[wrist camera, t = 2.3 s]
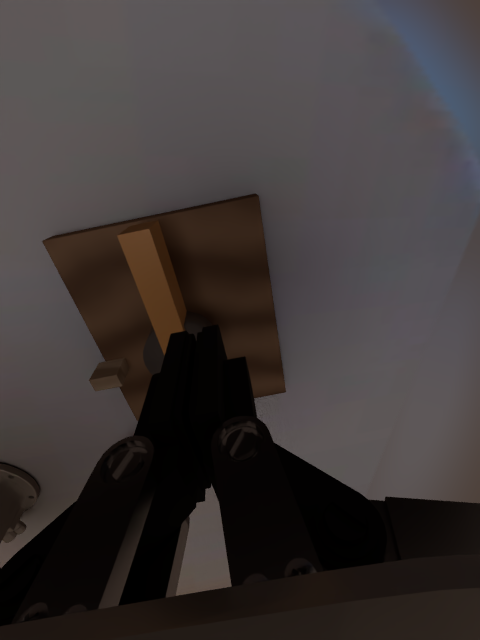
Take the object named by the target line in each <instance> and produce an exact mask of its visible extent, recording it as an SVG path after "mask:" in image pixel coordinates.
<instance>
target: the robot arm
mask: <svg viewBox="0 0 480 640" xmlns="http://www.w3.org/2000/svg"><path fill="white" fill-rule="evenodd" d="M211 483H212V486H213V488H214V491H215V493H216V496H217V498H218V501H219V505H220V512H221V519H222V525H223V532H224V539H225V545H226V552H227V559H228V565H229V572H230V579H231V585H232V587H227V588H221V589H215V590H208V591H202V592H197V593H191V594H185V595H179V596H175V595H176V590H177V585H178V580H179V575H180V570H181V565H182V560H183V556H184V551H185V546H186V541H187V536H188V531H189V522H190V518H189V515H190V514H191V512H192V511H193V510H194V509H195V508H196V503H197V502H203V501H205V489H206V488H210V487H211ZM39 492H40V490H39V486H38V485H37V483H36V481H35V480H34V479H33V478H32V477H31V476H29V475H28V474H27V473H25V472H23V471H21V470H20V469H17V468H15V467H12V466H9V465H5V464H1V463H0V543H1V541H2V540H3V541H4V542H6V543H8V542H10V541H12V540H13V539H14V538H15V537H16V536H17V534H22V533H23V532H24V531H25V530H26V527H27V526H26V525H25V524H24V523H23V522H22V521H20V518H21V516H22V514H23V512H24V511H25V510H27V509H29V508H30V507H32V506H33V505H34V504H35V502H36V500H37V498H38V496H39ZM0 640H480V503H467V502H453V501H438V500H425V499H411V498H397V497H385V501H379V500H368V499H366V498H365V497H364V496H363V495H361V494H360V493H359V492H357V491H355V490H353V489H352V488H350V487H348V486H347V485H345V484H343V483H342V482H340V481H338V480H336V479H335V478H333V477H331V476H330V475H328V474H326V473H325V472H323V471H321V470H320V469H318V468H316V467H314V466H313V465H311V464H309V463H308V462H306V461H304V460H303V459H301V458H299V457H297V456H296V455H294V454H292V453H291V452H289V451H287V450H286V449H284V448H282V447H280V446H279V445H277V444H275V443H274V442H273V439H272V437H271V434H270V432H269V430H268V428H267V426H266V425H265V424H264V423H263V422H262V421H261V420H259V419H258V418H257V415H256V408H255V402H254V396H253V390H252V384H251V379H250V374H249V370H248V365H247V361H246V357H245V356H244V357H238V358H233V359H227V355H226V351H225V348H224V344H223V340H222V336H221V332H220V328H219V325H218V324H217V325H212V326H207V327H203V328H202V332H198V333H197V340H196V339H195V336H194V334H193V333H192V334H189V333H188V332H187V331H182V332H177V333H172V334H171V335H170V338H169V341H168V345H167V349H166V353H165V356H164V360H163V364H162V367H161V371H160V373H156V374H154V375H153V376H152V378H151V381H150V384H149V387H148V391H147V394H146V397H145V401H144V404H143V407H142V411H141V414H140V417H139V420H138V424H137V427H136V430H135V434H134V436H131V437H127V438H124V439H122V440H120V441H118V442H117V443H115V444H114V445H112V446H111V447H110V448H109V449H108V450H107V451H106V452H105V453H104V454H103V455H102V456H101V458H100V459H99V461H98V462H97V464H96V466H95V468H94V470H93V472H92V473H91V475H90V477H89V479H88V481H87V483H86V485H85V486H84V488H83V490H82V492H81V494H80V496H79V498H78V499H77V501H76V502H74V503H73V504H72V505H71V506H70V507H69V508H68V509H66V510H65V511H64V512H63V513H62V514H61V515H59V516H58V517H57V518H56V519H55V520H54V521H53V522H51V523H50V524H49V525H48V526H47V527H46V528H45V529H43V530H42V531H41V532H40V533H39V534H38V535H37V536H35V537H34V538H33V539H32V540H31V541H30V542H29V543H27V544H26V545H25V546H24V547H23V548H22V549H21V550H19V551H18V552H17V553H16V554H15V555H14V556H13V557H12V558H11V559H10V560H9V561H8V562H7V563H6V564H5V565H4V566H3V567H2V568H0Z"/></svg>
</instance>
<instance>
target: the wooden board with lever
mask: <svg viewBox="0 0 480 640" xmlns="http://www.w3.org/2000/svg"><path fill="white" fill-rule="evenodd" d="M156 220H158V221H159V225H160V228H161V231H162V234H163V237H164V240H165V244H166V247H167V250H168V253H169V256H170V260H171V263H172V266H173V269H174V272H175V275H176V279H177V282H178V285H179V288H180V291H181V294H182V298H183V301H184V304H185V307H186V310H187V311H190V312H194V313H197V314H199V315H201V316H203V317H205V318H206V319H207V320H208V321H209V322H210V323H211V324H212V325H217V324H218V325H219V328H220V332H221V336H222V340H223V344H224V348H225V351H226V355H227V359H233V358H238V357H244V356H245V357H246V361H247V365H248V370H249V374H250V379H251V384H252V390H253V396H254V398H258V397H263V396H268V395H273V394H279V393H284V392H286V389H285V382H284V375H283V368H282V360H281V353H280V346H279V339H278V332H277V325H276V318H275V310H274V303H273V296H272V289H271V282H270V275H269V268H268V260H267V253H266V246H265V239H264V232H263V225H262V218H261V210H260V203H259V196H258V195H257V194H252V195H247V196H242V197H237V198H233V199H228V200H223V201H218V202H214V203H209V204H204V205H199V206H194V207H190V208H185V209H180V210H175V211H171V212H166V213H161V214H156V215H151V216H147V217H142V218H137V219H132V220H128V221H123V222H118V223H113V224H108V225H104V226H99V227H94V228H89V229H85V230H80V231H75V232H70V233H65V234H61V235H56V236H52V237H50V238H48V239H45V240H43V241H42V242H43V244H44V246H45V247H46V249H47V251H48V253H49V255H50V257H51V259H52V261H53V263H54V264H55V266H56V268H57V270H58V272H59V274H60V276H61V278H62V280H63V281H64V283H65V285H66V287H67V289H68V291H69V293H70V295H71V297H72V299H73V300H74V302H75V304H76V306H77V308H78V310H79V312H80V314H81V316H82V317H83V319H84V321H85V323H86V325H87V327H88V329H89V331H90V333H91V334H92V336H93V338H94V340H95V342H96V344H97V346H98V348H99V350H100V351H101V353H102V355H103V357H104V359H105V361H106V362H101V363H99V364H98V366H97V367H96V369H95V371H94V372H93V374H92V376H91V378H90V379H89V381H90V383H91V385H92V386H93V388H94V390H95V391H100V390H105V389H110V388H115V387H120V389H121V391H122V393H123V395H124V397H125V399H126V401H127V402H128V404H129V406H130V408H131V410H132V412H133V414H134V416H135V418H136V420H137V421H138V420H139V417H140V414H141V411H142V407H143V404H144V401H145V397H146V394H147V391H148V387H149V384H150V381H151V378H152V376H153V375H152V374H151V373H150V372H149V370H148V369H147V367H146V366H145V363H144V360H143V349H144V346H145V343H146V341H147V338H148V336H149V333H150V331H151V328H152V323H151V320H150V318H149V315H148V313H147V310H146V308H145V305H144V303H143V300H142V298H141V295H140V293H139V290H138V288H137V285H136V282H135V280H134V277H133V275H132V272H131V270H130V267H129V265H128V262H127V260H126V257H125V255H124V252H123V249H122V247H121V244H120V242H119V239H118V237H117V235H118V234H120V233H121V232H122V231H124V230H125V229H126V228H128V227H129V226H132V225H137V224H141V223H146V222H151V221H156Z"/></svg>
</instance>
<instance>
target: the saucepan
mask: <svg viewBox="0 0 480 640" xmlns="http://www.w3.org/2000/svg"><path fill="white" fill-rule="evenodd" d="M117 237H118V239H119V242H120V244H121V247H122V249H123V252H124V255H125V257H126V260H127V262H128V265H129V267H130V270H131V272H132V275H133V277H134V280H135V282H136V285H137V288H138V290H139V293H140V295H141V298H142V300H143V303H144V305H145V308H146V310H147V313H148V315H149V318H150V320H151V323H152V328H151V331H150V333H149V336H148V338H147V341H146V343H145V346H144V349H143V360H144V363H145V366H146V367H147V369H148V370H149V372H150V373H151V374H152V375H154V374H156V373H160V371H161V367H162V364H163V360H164V356H165V353H166V349H167V345H168V341H169V338H170V335H171V334H172V333H177V332H182V331H187V332H188V333H189V334H192V333H193V334H194V336H195V339H196V340H197V333H198V332H202V328H203V327H207V326H212V324H211V323H210V322H209V321H208V320H207V319H206V318H205V317H203V316H201V315H199V314H197V313H194V312H190V311H187V310H186V307H185V304H184V301H183V298H182V294H181V291H180V288H179V285H178V282H177V279H176V275H175V272H174V269H173V266H172V263H171V260H170V256H169V253H168V250H167V247H166V244H165V240H164V237H163V234H162V231H161V228H160V225H159V221H158V220H156V221H151V222H146V223H141V224H137V225H132V226H129V227H128V228H126V229H125V230H124V231H122V232H121V233H120V234H118V235H117Z"/></svg>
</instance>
